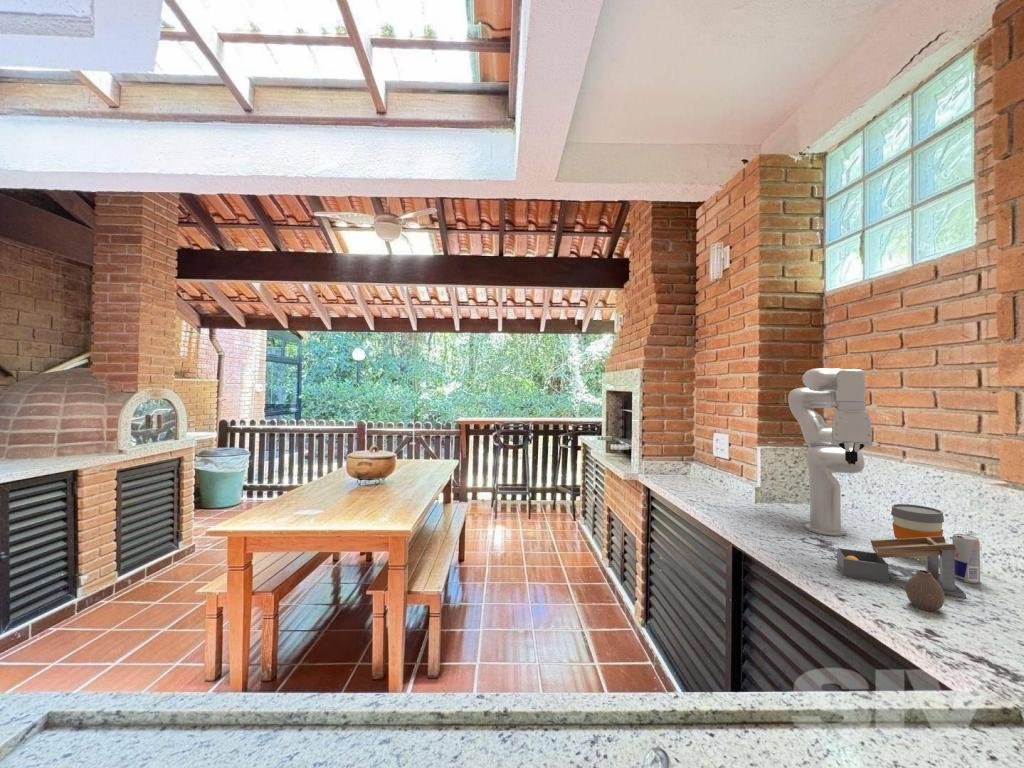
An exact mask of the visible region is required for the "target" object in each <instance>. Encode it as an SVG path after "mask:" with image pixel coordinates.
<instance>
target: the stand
mask: <svg viewBox="0 0 1024 768" xmlns="http://www.w3.org/2000/svg"><path fill="white" fill-rule="evenodd" d="M924 562H925V571H929V572H931V574H932V576H933V577H934V578H935V580H936V581H937V582H938V583H939V584H940V586H941V587H942V589H943V592H944V596H948V597H949V596H950V597H954V598H955V597H956V598H963V599H967V594H966V593H965V592H964V591H963V590H962V589H961V588H960V587H958V585H956V579H955V560H954V552H953V551H951V550H943V549H940V555H930V556H925V561H924ZM918 570H919V569H918ZM918 570H917V569H916V570H915V574H916V573H917V571H918Z"/></svg>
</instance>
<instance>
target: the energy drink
mask: <svg viewBox="0 0 1024 768" xmlns="http://www.w3.org/2000/svg"><path fill="white" fill-rule="evenodd" d="M951 539H952V544H955V547H956V550H957V554H954V560H955V580H957V581H960V582H963V583H967V584H979V583H981V549H980V548H981V542H980V540H979V538H978V536H977V537H976V536H974V535H969V534H963V533H953V535H952V538H951Z"/></svg>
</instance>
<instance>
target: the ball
mask: <svg viewBox="0 0 1024 768" xmlns="http://www.w3.org/2000/svg"><path fill="white" fill-rule="evenodd" d="M845 558H846V559H852V560H858V559H857V558H856V557H854V556H847V557H845Z"/></svg>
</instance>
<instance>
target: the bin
mask: <svg viewBox="0 0 1024 768" xmlns="http://www.w3.org/2000/svg"><path fill="white" fill-rule="evenodd" d="M847 556H854V557H856V558H857V559H858V560H852V559H846V558H845V557H847ZM837 564H838V565H837ZM836 565H837V567H838V566H839V567H838V568H840V569H839V570H841V571H840V573H841V575H842V576H843V577H844V576H847V577H846V578H849V577H852V578H851V579H856V578H857V580H862V579H863V581H870V582H876V583H883V584H889V564H888V563H887V562H886V560H885V559H884V558H880V557H879V556H878V555H877V554H876V552H870V551H863V550H855V549H848V548H841V547H836Z"/></svg>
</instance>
